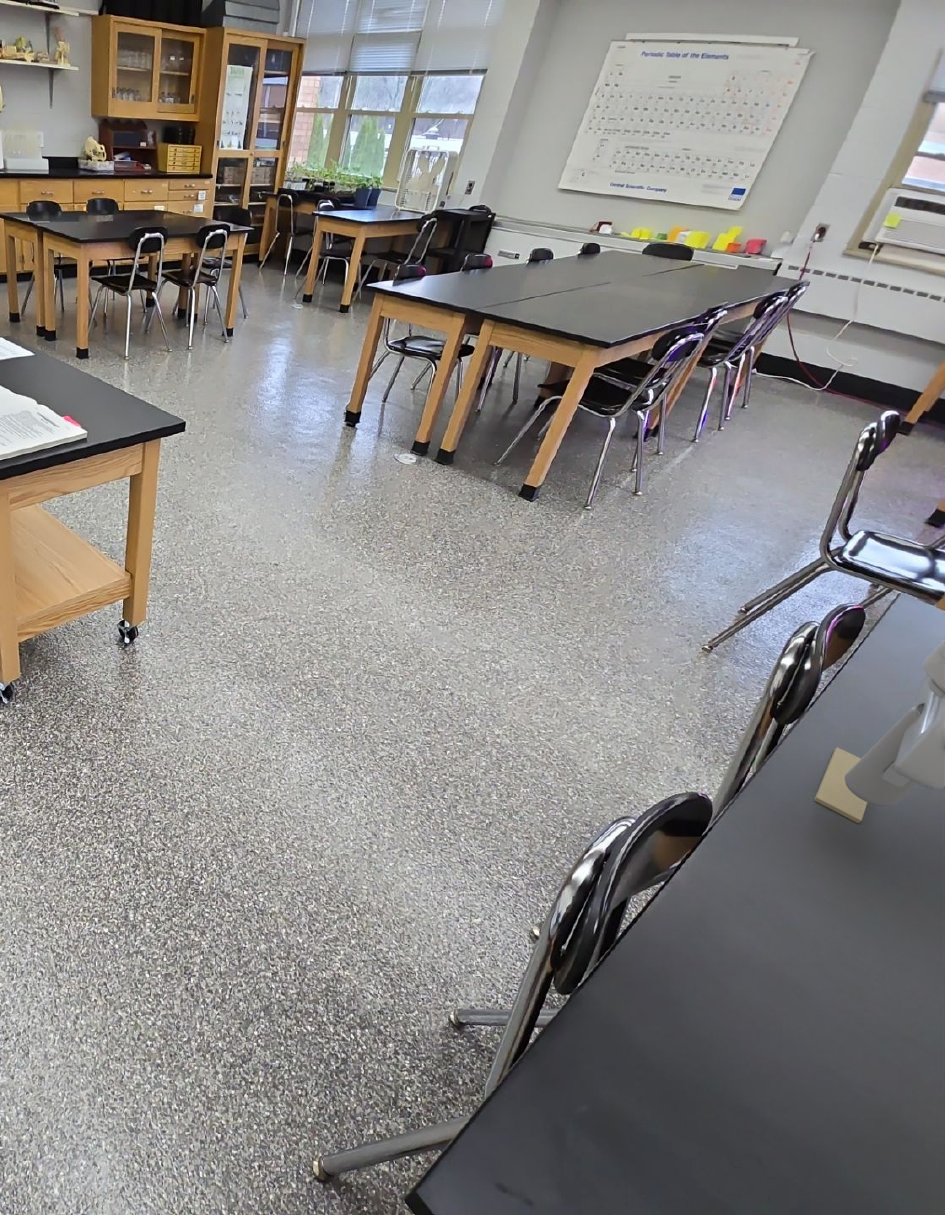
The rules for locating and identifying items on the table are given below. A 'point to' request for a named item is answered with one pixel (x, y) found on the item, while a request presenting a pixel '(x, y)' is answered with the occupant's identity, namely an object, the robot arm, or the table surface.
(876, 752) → the beverage can
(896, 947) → the table surface
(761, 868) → the table surface
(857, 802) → the napkin
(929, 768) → the robot arm
